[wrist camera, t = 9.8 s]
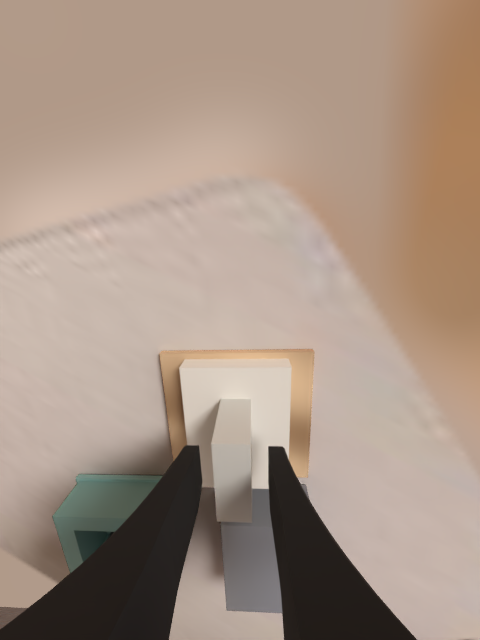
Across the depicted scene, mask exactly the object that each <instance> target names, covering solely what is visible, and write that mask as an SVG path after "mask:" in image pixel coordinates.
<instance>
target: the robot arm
mask: <svg viewBox="0 0 480 640" xmlns="http://www.w3.org/2000/svg"><path fill="white" fill-rule="evenodd" d="M268 486H269V504H270V515H271V522H272V530H273V537H274V544H275V551H276V558H277V566H278V573H279V580H280V589H281V600H282V614H283V628H284V640H417V639H416V638H415V637H414V636H413V635H412V634H411V633H410V632H409V630H408V629H407V628H406V627H405V626H404V625H403V624H402V623H401V622H400V620H399V619H398V618H397V617H396V616H395V615H394V614H393V613H392V611H391V610H390V609H389V608H388V607H387V606H386V604H385V603H384V602H383V601H382V600H381V599H380V597H379V596H378V595H377V594H376V593H375V591H374V590H373V589H372V588H371V586H370V585H369V584H368V583H367V581H366V580H365V579H364V578H363V576H362V575H361V574H360V573H359V571H358V570H357V569H356V568H355V566H354V565H353V564H352V563H351V561H350V560H349V559H348V557H347V556H346V555H345V553H344V552H343V551H342V549H341V548H340V546H339V545H338V544H337V542H336V541H335V539H334V538H333V537H332V535H331V534H330V532H329V531H328V529H327V528H326V526H325V525H324V523H323V522H322V520H321V519H320V517H319V515H318V514H317V512H316V510H315V509H314V507H313V506H312V504H311V502H310V500H309V499H308V497H307V495H306V493H305V492H304V490H303V488H302V486H301V484H300V482H299V480H298V478H297V476H296V474H295V472H294V470H293V468H292V466H291V464H290V461H289V459H288V456H287V454H286V451H285V448H284V447H283V446H268ZM201 488H202V472H201V461H200V450H199V445H185V446H184V447H183V449H182V450H181V452H180V453H179V455H178V456H177V457H176V459H175V460H174V462H173V463H172V465H171V466H170V467H169V469H168V470H167V471H166V473H165V474H164V475H163V477H162V478H161V479H160V481H159V482H158V483H157V484H156V486H155V487H154V488H153V489H152V491H151V492H150V493H149V494H148V496H147V497H146V498H145V499H144V500H143V501H142V503H141V504H140V505H139V506H138V507H137V509H136V510H135V511H134V512H133V513H132V514H131V515H130V516H129V517H128V519H127V520H126V521H125V522H124V523H123V524H122V525H121V526H120V527H119V528H118V529H117V530H116V531H115V532H114V533H113V534H112V535H111V536H110V537H109V538H108V539H107V540H106V541H105V542H104V543H103V544H102V545H101V546H100V547H99V548H98V549H97V550H96V551H95V552H94V553H93V554H92V555H90V556H89V557H88V558H87V559H86V560H85V561H84V562H83V563H82V564H81V565H79V566H78V567H77V568H76V569H75V570H74V571H72V572H71V573H70V574H69V575H68V576H67V577H66V578H64V579H63V580H62V581H61V582H60V583H59V584H57V585H56V586H55V587H54V588H53V589H52V590H50V591H49V592H48V593H47V594H45V595H44V596H43V597H42V598H41V599H39V600H38V601H37V602H35V603H34V604H33V605H31V606H30V607H29V608H28V609H26V610H25V611H24V612H22V613H21V614H20V615H18V616H17V617H16V618H15V619H13V620H12V621H11V622H9V623H8V624H7V625H5V626H4V627H3V628H1V629H0V640H169V635H170V629H171V623H172V618H173V613H174V607H175V602H176V596H177V591H178V587H179V582H180V578H181V573H182V570H183V566H184V562H185V558H186V554H187V550H188V546H189V543H190V539H191V535H192V531H193V527H194V523H195V519H196V515H197V511H198V507H199V501H200V495H201Z"/></svg>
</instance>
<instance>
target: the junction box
mask: <svg viewBox="0 0 480 640" xmlns="http://www.w3.org/2000/svg"><path fill="white" fill-rule="evenodd" d="M301 486H302V488H303V490H304V492H305V493H306V495H307V497H308V499H309V496H308V492H307V487H306V485H301ZM220 526H221V539H222V553H223V567H224V581H225V594H226V608H227V611H247V612H268V613H282V600H281V589H280V580H279V573H278V566H277V558H276V551H275V544H274V537H273V530H272V522H271V515H270V504H269V489H252V523H246V522H221V525H220Z"/></svg>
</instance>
